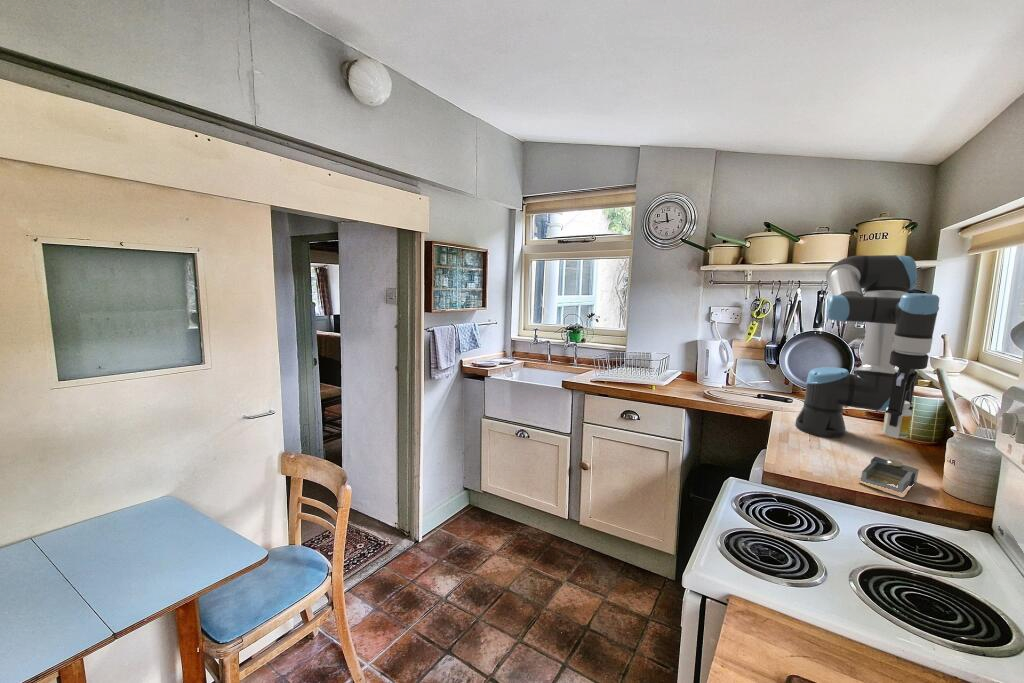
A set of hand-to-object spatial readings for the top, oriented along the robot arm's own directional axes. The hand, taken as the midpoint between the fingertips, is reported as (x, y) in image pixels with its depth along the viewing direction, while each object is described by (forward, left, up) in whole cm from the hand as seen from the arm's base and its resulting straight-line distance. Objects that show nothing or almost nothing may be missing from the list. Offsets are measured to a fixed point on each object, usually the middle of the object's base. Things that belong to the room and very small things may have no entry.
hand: (894, 433), depth 120 cm
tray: (-2, 0, -16) cm, 16 cm away
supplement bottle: (0, 0, -1) cm, 1 cm away
